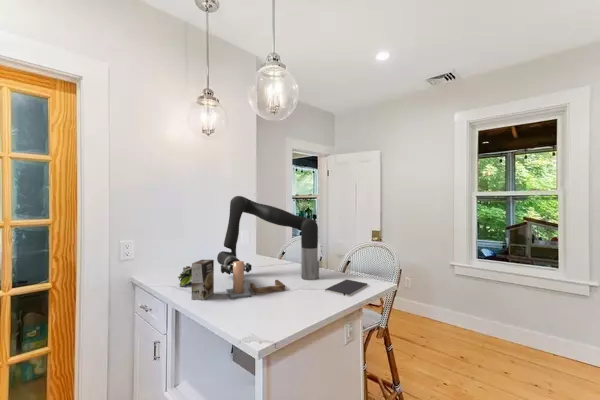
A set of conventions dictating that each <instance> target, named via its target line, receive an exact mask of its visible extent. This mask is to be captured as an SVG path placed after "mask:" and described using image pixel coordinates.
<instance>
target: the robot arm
mask: <svg viewBox="0 0 600 400" xmlns="http://www.w3.org/2000/svg"><path fill="white" fill-rule="evenodd" d="M229 204H230V205H229V217H228V223H227V229H226V232H225V236H224V237H225V238H224V241H223V246H224V247H225V249H229V250H230V251H225V250H223V251H220V252H219V253H218V254H217V256H216V258H217V262H218V264H219V265H220V272H221V274H228V275H232V274H233V262H235V261H241V260H240V259H238V258H237V243H238V240H239V235H240V234H239V233H240V222H241V218H242V215H243V213H246V214H250V215H253V216H256V217H258V218H259V219H261V220H263V221H264V222H267V223H270V224H274V225H276V226H281V227H287V228H293V229H296V230H298V231H300V232H301V233H300V240H301V242H300V243H301V244H300V245H301V248H300V249H301V251H300V252H301V254H300V255H301V262H300V263H301V264H300V265H301V267H300V269H301V270H300V271H301V272H300V273H301V275H300V277H301V279H302V280H306V281H313V280H317V279H320V261H319V260H318V259H319V256H318V255H319V254H318V252H319V251H318V249H319V245H318V244H319V227H318V223H317V222H316V220H314V219H313V218H307V217H303V216H300V215H296V214H293V213H291V212H289V211H286V210H283V209H282V208H278V207H276V206H272V205H270V204H269V205H268V204H263V203H259V202H257V201H254V200H252V199H249V198H247V197H244V196H242V195H236V196H234V197H232V198H231V199H230V202H229ZM252 270H253V269H252V264H251V263H249V262H246V263H244V272H246V273H248V274H249V273H250V272H251V271H252Z"/></svg>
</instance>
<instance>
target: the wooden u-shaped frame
mask: <svg viewBox="0 0 600 400" xmlns="http://www.w3.org/2000/svg"><path fill="white" fill-rule="evenodd" d="M274 284H275V285H270V286H261V287H257V286H256V285H255V284H254V282H250V283H249V289H250V290H251V292H252V293H253V294H254V295H261V294H267V293H277V292H283V291H284V292H285V291H286V285H285V284H284V283H283V282H281V281H280V280H279V279H275V280H274Z"/></svg>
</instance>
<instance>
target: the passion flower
mask: <svg viewBox="0 0 600 400" xmlns="http://www.w3.org/2000/svg"><path fill="white" fill-rule="evenodd" d="M177 278H178V280H179V282H180V283H179V287H180V288H181V287H182V286H184V285H185V286H187V285H188V284H189V283H191V282H192V266H190V265H187V266H186V267H183V268H182V271H181V272H180V274H179V276H177Z"/></svg>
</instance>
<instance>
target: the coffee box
mask: <svg viewBox="0 0 600 400" xmlns="http://www.w3.org/2000/svg"><path fill="white" fill-rule="evenodd" d="M191 267H192V280H191V300H197V301H199V300H200V301H205V300H206V299H208V298H210V296H212V295H214V293H215V292H214V291H215V289H214V287H215V284H214V283H215V282H214V281H215V280H214V279H215V278H214V277H215V275H214V273H215V270H214V269H215V260H214V259H200V260H198V261H194V262H192V263H191Z"/></svg>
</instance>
